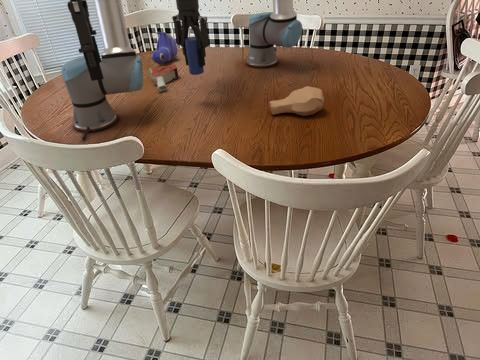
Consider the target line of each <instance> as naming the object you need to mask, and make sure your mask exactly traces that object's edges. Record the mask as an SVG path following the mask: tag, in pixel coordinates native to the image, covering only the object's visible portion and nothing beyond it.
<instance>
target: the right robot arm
mask: <svg viewBox="0 0 480 360" xmlns="http://www.w3.org/2000/svg"><path fill="white" fill-rule="evenodd" d="M175 5H176V9H177V11H178V12H177V14H176V15H173V16H171V19H172V22H173V25H174V33H175V42H176V44H177V46H180V47H181V50H182V54H183V56H184V60H185V65H186V66H189V65H188V59H187V52H186V45H185V38H187V37H189V32H190V28H191V31H193V35H194V36H195V37H196V40H197V43H198V46H199V48H198V49H197V50H198V58H199V66H200V67H203V68H204V67H205V66H206V59H205V58H206V56H207V54H206V53H207V52H206V48H208V47H210V37H209V30H208V25H207V24H208V16H202V15H201V13H200V10H199V9H200V5H199V0H175ZM297 15H298V14H297V12H296V10H294V0H272V11H264V12H257V13H254V14H251V15H250V16H249V17H248V35H249V36H248V37H249V49H248V54H247V57H246V65H247V66H248V67H250V68H255V69H263V68H270V67H274V66H276V65H277V64H278V56H277V52H276V47H275V46H277V47H281V48H289V49H290V48H293V47H294V46H296V45H297V44H298V42H299V41H300V39H301V37H302V35H303V24H302V21H300V20H299V19H297V18H298V16H297Z"/></svg>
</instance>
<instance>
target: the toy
mask: <svg viewBox="0 0 480 360" xmlns="http://www.w3.org/2000/svg"><path fill="white" fill-rule="evenodd" d="M155 34H156V35H159V36H158V38H157V42H156V50H151V51H152V53H151V56H150V59H151V60H152V61H153V62H154V63H155V64H158V67H162V64H165V63H167V62H170V61H173V60H174V58H175V57H177V55H178V45H177V41H176V39H174V37H173V36H172V35H168V34H167V32H165V31H162V32H161V31H157V32H155Z"/></svg>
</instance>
